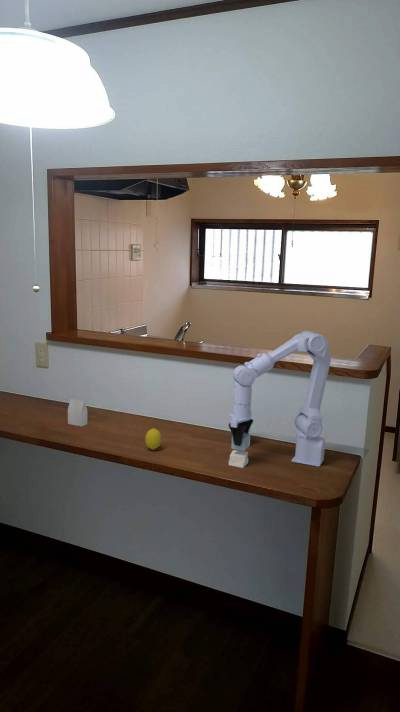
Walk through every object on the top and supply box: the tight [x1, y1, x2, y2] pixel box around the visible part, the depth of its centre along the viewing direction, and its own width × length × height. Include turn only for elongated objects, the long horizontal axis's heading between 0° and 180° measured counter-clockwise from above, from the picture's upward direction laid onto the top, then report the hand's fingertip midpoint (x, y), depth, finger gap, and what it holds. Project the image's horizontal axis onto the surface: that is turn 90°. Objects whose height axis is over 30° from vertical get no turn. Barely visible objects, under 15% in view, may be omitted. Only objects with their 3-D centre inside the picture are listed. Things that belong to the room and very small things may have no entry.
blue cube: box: [230, 433, 250, 452], centre depth 169 cm, size 4×4×4 cm
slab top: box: [229, 449, 249, 463], centre depth 170 cm, size 5×5×2 cm
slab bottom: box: [228, 457, 249, 469], centre depth 170 cm, size 5×5×2 cm
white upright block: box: [67, 398, 88, 427], centre depth 206 cm, size 4×7×10 cm, turn 67°
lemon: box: [145, 427, 162, 451], centre depth 180 cm, size 6×6×8 cm
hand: (240, 442), depth 169 cm, fingers closed on blue cube, 4 cm apart
